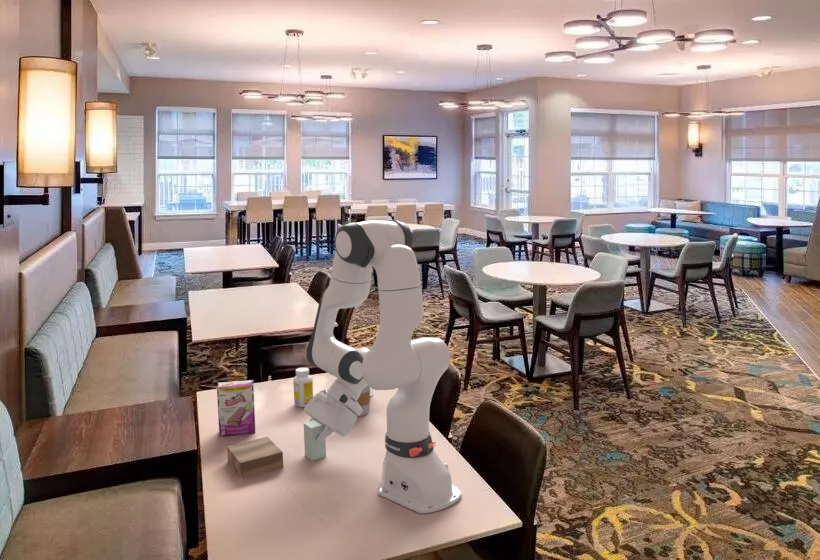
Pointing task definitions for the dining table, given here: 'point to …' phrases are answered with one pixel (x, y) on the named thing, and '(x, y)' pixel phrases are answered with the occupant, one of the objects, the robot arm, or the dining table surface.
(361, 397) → the coffee cup
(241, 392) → the candy bar box
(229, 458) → the walnut block
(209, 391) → the dining table surface
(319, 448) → the sage pillar
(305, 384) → the supplement bottle
